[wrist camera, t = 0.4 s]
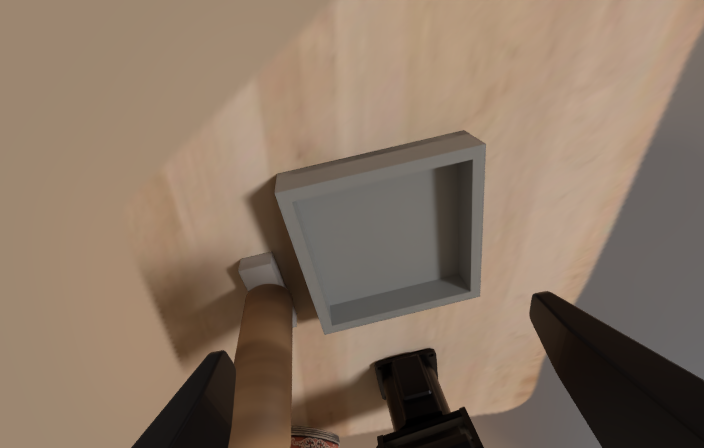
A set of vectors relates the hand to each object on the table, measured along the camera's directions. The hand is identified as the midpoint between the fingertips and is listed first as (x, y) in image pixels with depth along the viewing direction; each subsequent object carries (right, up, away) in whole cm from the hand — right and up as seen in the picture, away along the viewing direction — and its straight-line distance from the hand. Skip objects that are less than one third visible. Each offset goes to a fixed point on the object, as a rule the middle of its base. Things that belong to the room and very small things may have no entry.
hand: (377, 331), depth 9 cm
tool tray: (+2, +3, +16) cm, 16 cm away
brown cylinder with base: (-7, -2, +17) cm, 19 cm away
